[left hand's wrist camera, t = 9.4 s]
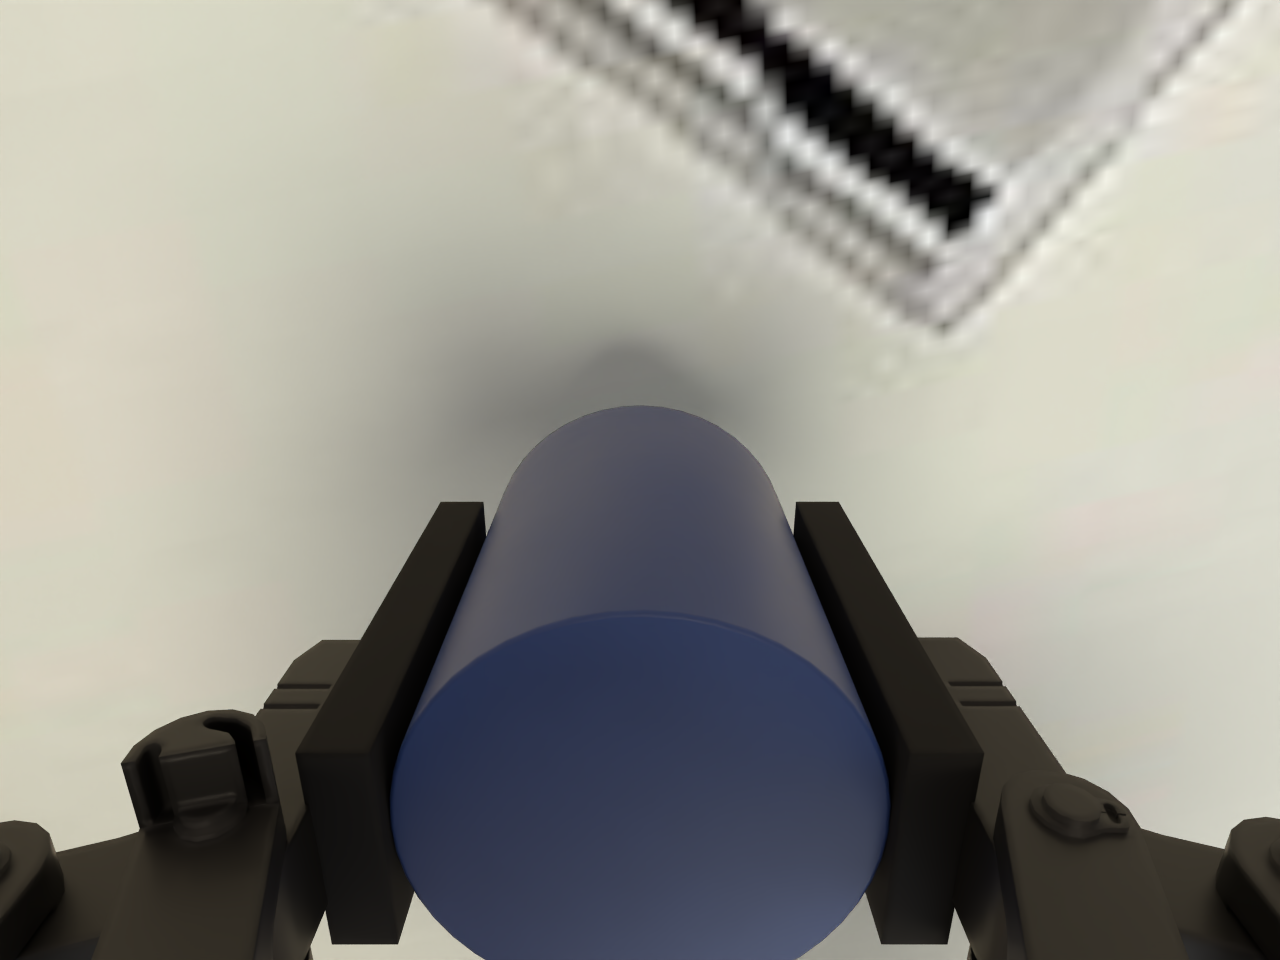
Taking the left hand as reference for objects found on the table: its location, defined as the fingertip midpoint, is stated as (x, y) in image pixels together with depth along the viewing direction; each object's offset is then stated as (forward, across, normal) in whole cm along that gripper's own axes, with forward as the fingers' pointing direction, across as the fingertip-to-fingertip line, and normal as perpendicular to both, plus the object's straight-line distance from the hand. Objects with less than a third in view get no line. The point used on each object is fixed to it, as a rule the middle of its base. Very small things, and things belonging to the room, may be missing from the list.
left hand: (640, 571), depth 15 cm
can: (+1, 0, 0) cm, 1 cm away
